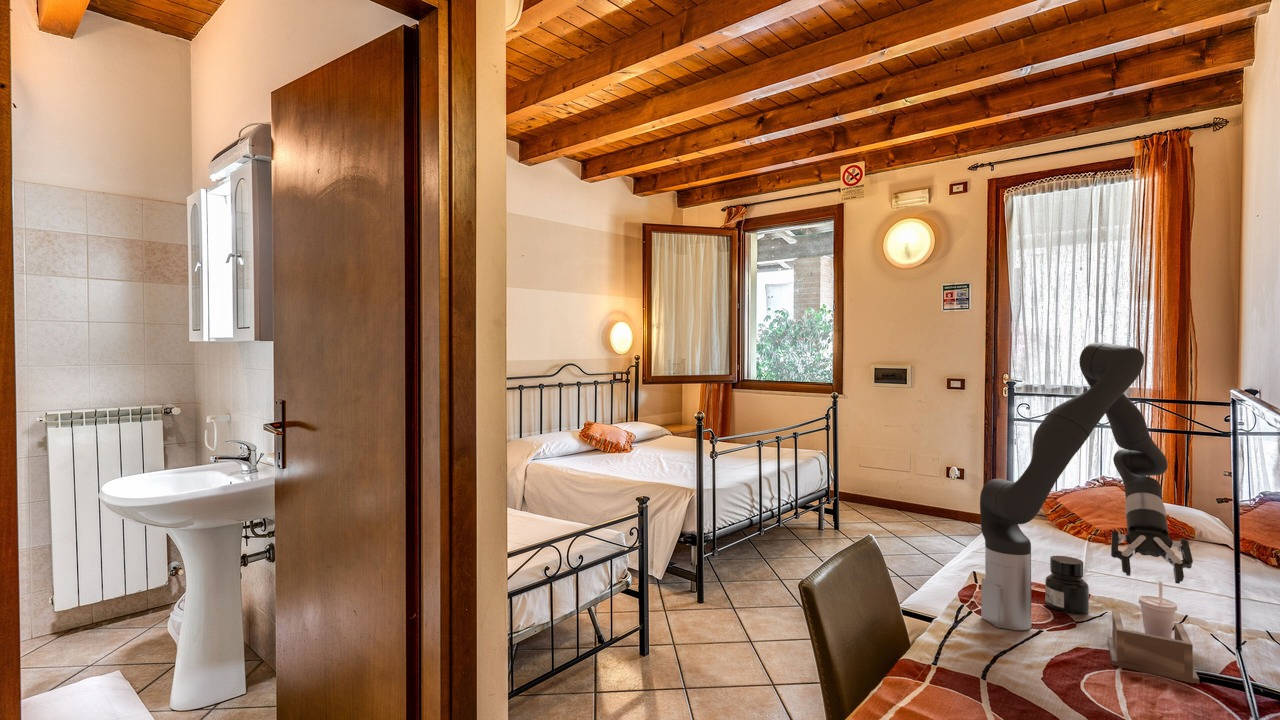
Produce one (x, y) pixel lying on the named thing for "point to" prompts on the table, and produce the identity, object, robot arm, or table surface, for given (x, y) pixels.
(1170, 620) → the smoothie
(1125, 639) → the bottle stand
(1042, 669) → the table surface
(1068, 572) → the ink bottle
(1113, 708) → the table surface
